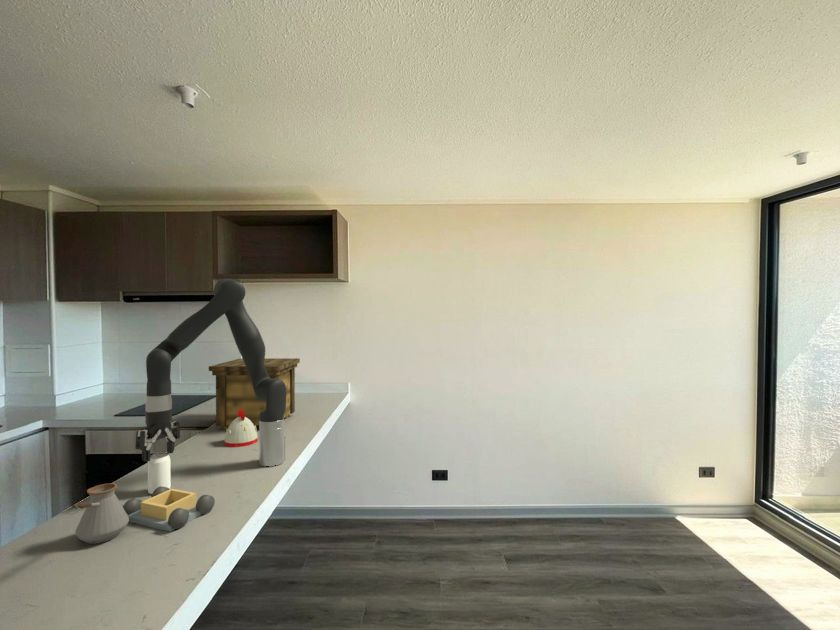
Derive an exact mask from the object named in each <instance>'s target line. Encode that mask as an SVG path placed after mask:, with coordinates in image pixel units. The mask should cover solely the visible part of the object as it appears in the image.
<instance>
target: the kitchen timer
mask: <svg viewBox="0 0 840 630" xmlns="http://www.w3.org/2000/svg"><path fill="white" fill-rule="evenodd" d="M258 441H259V436H258V430H257V425H253V423H252V422H251V421H250V420H249V419H248V418H246V417H245V414H244V411H243V410H242V409H240V410H239V411H238V417H237V418H236V419H235V420H233V422H232V423H231V424H230V426H229V427H228V429H225V434H224V446H226V447H229V448H240V447H247V446H251V445H254V444H256V443H258Z"/></svg>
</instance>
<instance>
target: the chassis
mask: <svg viewBox="0 0 840 630" xmlns="http://www.w3.org/2000/svg"><path fill="white" fill-rule="evenodd" d="M150 496H151V497H150V498H148V499H144V500H141V499H139V498H135V497H134V498H130V499H127V500H126V501H125V502H124V504H123V505H122V507H123V508H124V510H125V512H126V513H127V515H128V517H129V522H128V523H132V524H137V525H141V526H145V527H150V528H154V529H158V530H163V531H167V532H173V531H174V530H176V529H177V530H179V529H182V528H184V527H185V526H186V524H188V523H189V522H191V521H192V520H194V519H197V518H198V517H200V516H202V515H207V514H208V513H210V512H211V511H212V510H213V508H214V507H215V504H216V503H215V497H214V496H213V495H208V494H202V495H201V496H199V498H198V499H197V492H191V491H187V490H181V489H176V488H170V489H169V488H167V487H162V486H160V487H158V488H156V489H155V490H154V492H153V493H152V495H150Z"/></svg>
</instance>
